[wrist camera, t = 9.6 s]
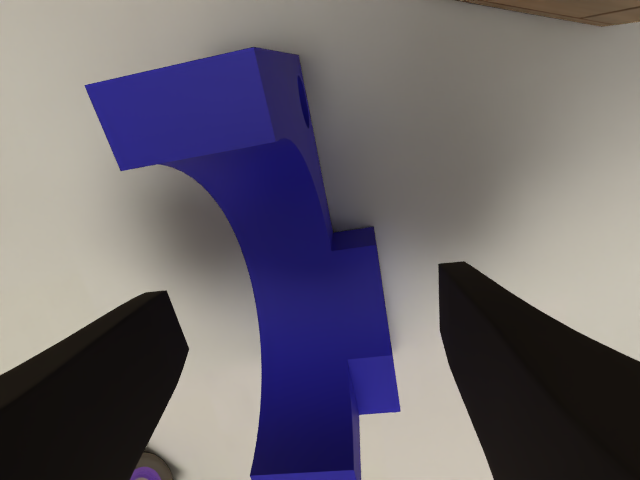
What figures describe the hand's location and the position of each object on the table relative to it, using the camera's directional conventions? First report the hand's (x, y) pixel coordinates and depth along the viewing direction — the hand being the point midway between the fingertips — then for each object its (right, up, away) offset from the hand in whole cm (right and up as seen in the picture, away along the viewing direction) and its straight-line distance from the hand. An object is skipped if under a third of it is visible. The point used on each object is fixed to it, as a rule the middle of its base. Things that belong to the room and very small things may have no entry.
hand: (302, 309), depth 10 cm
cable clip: (0, +2, +4) cm, 5 cm away
